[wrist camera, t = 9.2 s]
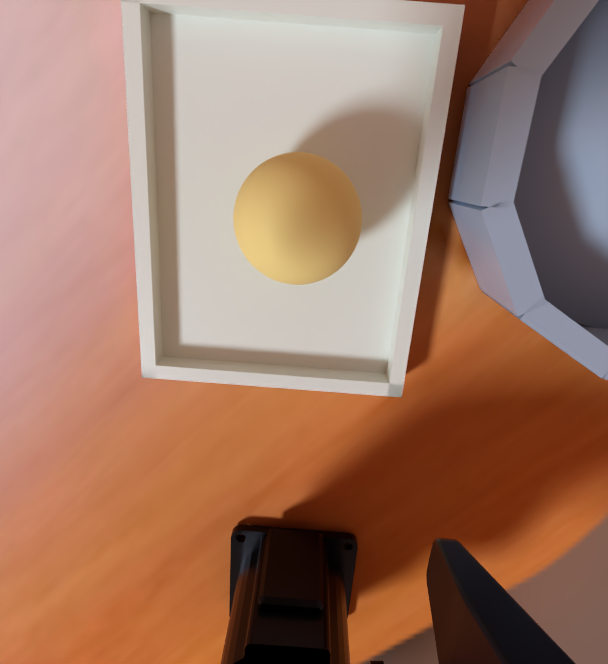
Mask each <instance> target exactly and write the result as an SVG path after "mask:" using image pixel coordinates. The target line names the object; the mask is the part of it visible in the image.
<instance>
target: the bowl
mask: <svg viewBox="0 0 608 664" xmlns="http://www.w3.org/2000/svg"><path fill="white" fill-rule="evenodd" d="M469 85H471V86H470V87H468V88H467V91H466V97H465V103H464V109H463V114H462V120H461V126H460V132H459V138H458V143H457V149H456V155H455V161H454V167H453V172H452V178H451V184H450V190H449V196H448V199H451V200H452V201H450V202H448V203H449V206H450V208H451V211H452V214H453V217H454V219H455V222H456V225H457V228H458V230H459V233H460V236H461V238H462V241H463V244H464V247H465V249H466V252H467V255H468V257H469V260H470V263H471V266H472V268H473V271H474V274H475V276H476V279H477V282H478V285H479V287H480V289H481V290H482V292H483V293H485V294H486V295H488V296H489V297H490V298H492V299H493V300H494V301H496V302H497V303H498V304H500V305H501V306H502V307H504V308H505V309H506V310H508V311H509V312H510V313H512V314H513V315H514V316H516V317H517V318H518V319H520V320H521V321H523V322H524V323H525V324H527V325H528V326H529V327H531V328H532V329H534V330H535V331H536V332H538V333H539V334H541V335H542V336H543V337H545V338H546V339H547V340H549V341H550V342H552V343H553V344H554V345H556V346H557V347H559V348H560V349H561V350H563V351H564V352H566V353H567V354H568V355H570V356H571V357H572V358H574V359H575V360H577V361H578V362H579V363H581V364H582V365H584V366H585V367H586V368H588V369H589V370H590V371H592V372H593V373H595V374H596V375H597V376H599V377H600V378H603V379H605V380H608V0H528V2H527V3H526V4H525V6H524V7H523V9H522V10H521V11H520V13H519V14H518V16H517V17H516V19H515V20H514V21H513V23H512V24H511V26H510V27H509V28H508V30H507V31H506V33H505V34H504V35H503V37H502V38H501V40H500V41H499V42H498V44H497V45H496V47H495V48H494V49H493V51H492V52H491V54H490V55H489V56H488V58H487V59H486V61H485V62H484V63H483V65H482V66H481V68H480V69H479V70H478V72H477V73H476V75H475V76H474V77H473V79H472V80H471V82H470V83H469Z"/></svg>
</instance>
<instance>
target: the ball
mask: <svg viewBox="0 0 608 664" xmlns="http://www.w3.org/2000/svg"><path fill="white" fill-rule="evenodd" d="M233 223H234V231H235V235H236V239H237V242H238V244H239V246H240V248H241V250H242V252H243V254H244V255H245V257H246V259H247V260H248V261H249V262H250V263H251V265H252V266H254V267H255V268H256V269H257V270H258V271H259V272H261V273H262V274H264V275H265V276H267V277H269V278H271V279H273V280H275V281H278V282H281V283H286V284H292V285H304V284H310V283H315V282H318V281H321V280H323V279H325V278H327V277H329V276H331V275H332V274H334V273H335V272H337V271H338V270H339V269H340V268H341V267H342V266H343V265H344V264H345V263H346V262H347V261H348V259H349V258H350V257H351V255H352V253H353V252H354V250H355V248H356V246H357V243H358V241H359V237H360V234H361V228H362V209H361V204H360V200H359V197H358V194H357V192H356V190H355V187H354V185H353V184H352V182H351V181H350V179H349V178H348V176H347V175H346V174H345V173H344V172H343V171H342V170H341V169H340V168H339V167H338V166H336V165H335V164H334V163H332V162H331V161H329V160H327V159H325V158H323V157H321V156H318V155H315V154H311V153H304V152H290V153H284V154H281V155H277V156H274V157H272V158H270V159H268V160H266V161H265V162H263V163H261V164H260V165H259V166H257V167H256V168H255V169H254V170H253V171H252V172H251V173H250V174H249V175H248V177H247V178H246V180H245V181H244V182H243V184H242V186H241V188H240V190H239V192H238V195H237V198H236V201H235V206H234V214H233Z"/></svg>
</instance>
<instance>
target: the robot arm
mask: <svg viewBox="0 0 608 664" xmlns="http://www.w3.org/2000/svg"><path fill="white" fill-rule="evenodd" d="M240 534H241V535H244V536H239V535H240ZM345 543H350V544H345ZM357 548H358V547H357V538H356V537H355V536H354V535H353V534H350V533H342V532H329V531H316V530H303V529H290V528H277V527H264V526H251V525H238V526H236V527H235V528H234V529H233V532H232V536H231V567H230V614H229V615H230V619H229V624H228V629H227V635H226V640H225V645H224V650H223V655H222V660H221V664H350V655H349V640H348V625H347V617H348V611H349V604H350V597H351V590H352V583H353V576H354V569H355V562H356V555H357ZM427 587H428V594H429V600H430V607H431V614H432V620H433V627H434V633H435V640H436V647H437V653H438V660H439V664H575V663H574V662H573V661H572V659H571V658H570V657H569V656H568V655H567V654H566V653H565V652H564V651H563V650H562V649H561V648H560V647H559V646H558V645H557V644H556V643H555V642H554V641H553V640H552V639H551V638H550V637H549V636H548V634H547V633H546V632H545V631H544V630H543V629H542V628H541V627H540V626H539V625H538V624H537V623H536V622H535V621H534V620H533V619H532V618H531V617H530V616H529V615H528V614H527V613H526V611H525V610H524V609H523V608H522V607H521V606H520V605H519V604H518V603H517V602H516V601H515V600H514V599H513V598H512V597H511V596H510V595H509V594H508V593H507V592H506V590H505V589H504V588H503V587H502V586H501V585H500V584H499V583H498V582H497V581H496V580H495V579H494V578H493V577H492V576H491V575H490V574H489V573H488V572H487V571H486V570H485V569H484V567H483V566H482V565H481V564H480V563H479V562H478V561H477V560H476V559H475V558H474V557H473V556H472V555H471V554H470V553H469V552H468V551H467V550H466V549H465V548H464V547H463V546H462V544H461V543H460V542H458V541H457V540H454V539H444V538H437V539H435V540H434V542H433V545H432V549H431V554H430V558H429V563H428V568H427ZM370 664H384V663H383V661H370Z"/></svg>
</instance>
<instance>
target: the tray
mask: <svg viewBox="0 0 608 664" xmlns="http://www.w3.org/2000/svg"><path fill="white" fill-rule="evenodd" d="M121 10H122V28H123V46H124V64H125V82H126V100H127V118H128V136H129V153H130V171H131V189H132V207H133V225H134V243H135V261H136V279H137V297H138V315H139V333H140V350H141V368H142V377H143V378H156V379H169V380H182V381H196V382H209V383H222V384H235V385H248V386H261V387H274V388H287V389H300V390H313V391H326V392H339V393H352V394H365V395H378V396H392V397H402V392H403V386H404V380H405V374H406V367H407V361H408V355H409V349H410V343H411V337H412V330H413V324H414V318H415V312H416V306H417V300H418V294H419V287H420V281H421V275H422V269H423V263H424V257H425V250H426V244H427V238H428V232H429V226H430V220H431V213H432V207H433V201H434V195H435V189H436V183H437V177H438V170H439V164H440V158H441V152H442V146H443V140H444V133H445V127H446V121H447V115H448V109H449V103H450V97H451V90H452V84H453V78H454V72H455V66H456V60H457V53H458V47H459V41H460V35H461V29H462V23H463V16H464V10H465V5H459V4H446V3H433V2H419V1H406V0H121ZM290 152H304V153H311V154H315V155H318V156H321V157H323V158H325V159H327V160H329V161H331V162H332V163H334V164H335V165H336V166H338V167H339V168H340V169H341V170H342V171H343V172H344V173H345V174H346V175H347V176H348V178H349V179H350V181H351V182H352V184H353V185H354V187H355V190H356V192H357V194H358V197H359V200H360V204H361V209H362V228H361V234H360V237H359V241H358V243H357V246H356V248H355V250H354V252H353V253H352V255H351V257H350V258H349V259H348V261H347V262H346V263H345V264H344V265H343V266H342V267H341V268H340V269H339V270H338V271H337V272H335V273H334V274H332V275H331V276H329V277H327V278H325V279H323V280H321V281H318V282H315V283H310V284H304V285H292V284H286V283H281V282H278V281H275V280H273V279H271V278H269V277H267V276H265V275H264V274H262V273H261V272H259V271H258V270H257V269H256V268H255V267H254V266H252V265H251V263H250V262H249V261H248V260H247V259H246V257H245V255H244V254H243V252H242V250H241V248H240V246H239V244H238V242H237V239H236V235H235V231H234V223H233V214H234V206H235V201H236V198H237V195H238V192H239V190H240V188H241V186H242V184H243V182H244V181H245V180H246V178H247V177H248V175H249V174H250V173H251V172H252V171H253V170H254V169H255V168H256V167H257V166H259V165H260V164H261V163H263V162H265V161H266V160H268V159H270V158H272V157H274V156H277V155H281V154H284V153H290Z"/></svg>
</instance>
